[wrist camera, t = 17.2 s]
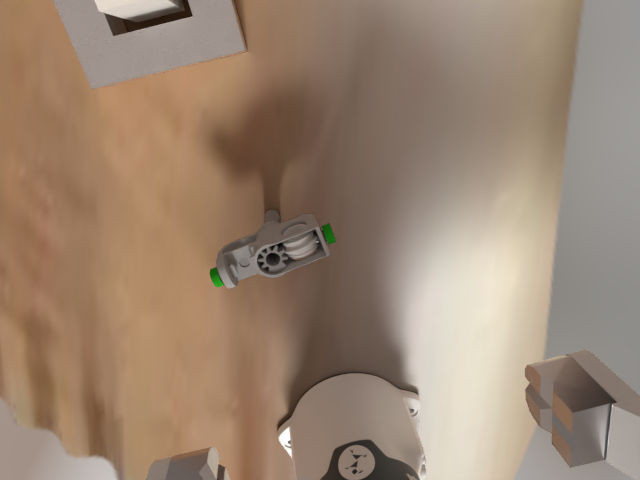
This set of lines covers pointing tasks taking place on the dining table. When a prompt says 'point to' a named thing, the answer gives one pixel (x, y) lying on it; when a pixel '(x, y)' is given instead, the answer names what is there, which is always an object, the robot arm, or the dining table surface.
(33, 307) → the dining table surface
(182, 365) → the dining table surface
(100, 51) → the grey square socket base
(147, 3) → the plug
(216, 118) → the dining table surface
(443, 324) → the dining table surface
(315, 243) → the mechanical component
